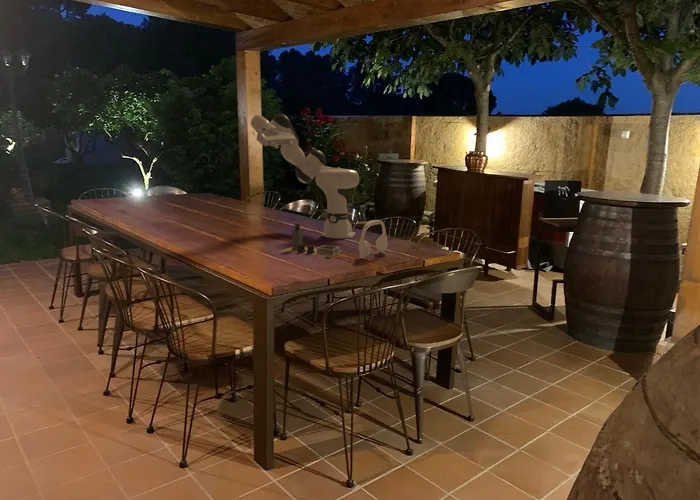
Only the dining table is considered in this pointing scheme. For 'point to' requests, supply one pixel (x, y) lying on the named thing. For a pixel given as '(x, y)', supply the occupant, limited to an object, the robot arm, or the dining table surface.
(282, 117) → the robot arm
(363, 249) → the headset
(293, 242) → the grey square bottle
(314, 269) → the dining table surface
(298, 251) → the cable board
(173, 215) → the dining table surface
